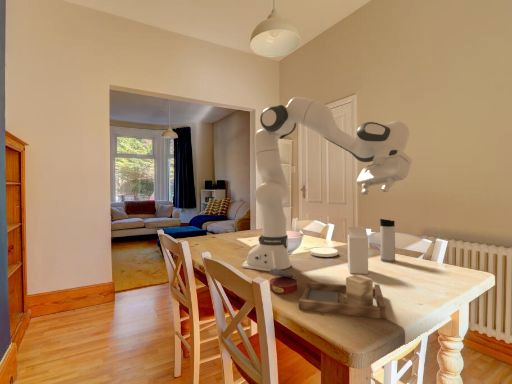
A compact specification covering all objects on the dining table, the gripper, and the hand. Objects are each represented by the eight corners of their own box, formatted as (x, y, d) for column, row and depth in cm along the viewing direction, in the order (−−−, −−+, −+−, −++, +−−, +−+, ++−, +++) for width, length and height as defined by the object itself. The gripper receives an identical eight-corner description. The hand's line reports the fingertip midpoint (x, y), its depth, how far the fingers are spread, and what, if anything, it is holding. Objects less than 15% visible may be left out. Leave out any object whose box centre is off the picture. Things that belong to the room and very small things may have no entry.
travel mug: (377, 259, 134) (376, 218, 133) (388, 258, 135) (388, 217, 135) (386, 263, 128) (385, 220, 127) (398, 261, 129) (397, 219, 129)
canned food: (269, 301, 101) (261, 274, 104) (294, 293, 104) (285, 267, 108) (280, 297, 91) (270, 267, 95) (306, 289, 95) (296, 260, 98)
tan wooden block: (360, 309, 82) (360, 282, 82) (346, 302, 87) (346, 277, 87) (373, 305, 85) (372, 279, 85) (358, 298, 90) (358, 274, 89)
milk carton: (368, 274, 113) (367, 228, 112) (350, 273, 114) (349, 228, 114) (365, 269, 120) (364, 225, 119) (347, 268, 121) (347, 225, 121)
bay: (298, 308, 83) (298, 297, 83) (306, 288, 99) (306, 278, 99) (386, 319, 76) (385, 306, 76) (379, 295, 92) (379, 284, 92)
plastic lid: (342, 257, 140) (342, 252, 140) (316, 259, 138) (316, 254, 138) (330, 251, 154) (330, 246, 154) (306, 252, 151) (306, 248, 151)
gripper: (359, 162, 109) (347, 191, 105) (404, 148, 90) (390, 183, 86) (371, 170, 111) (359, 200, 107) (417, 159, 92) (404, 194, 88)
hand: (373, 192), depth 96 cm, fingers open, 8 cm apart
